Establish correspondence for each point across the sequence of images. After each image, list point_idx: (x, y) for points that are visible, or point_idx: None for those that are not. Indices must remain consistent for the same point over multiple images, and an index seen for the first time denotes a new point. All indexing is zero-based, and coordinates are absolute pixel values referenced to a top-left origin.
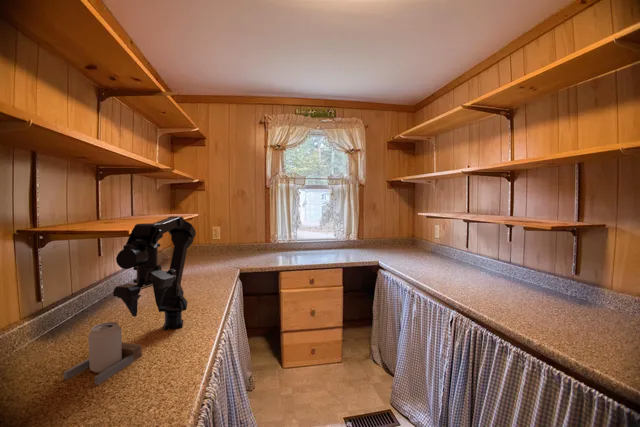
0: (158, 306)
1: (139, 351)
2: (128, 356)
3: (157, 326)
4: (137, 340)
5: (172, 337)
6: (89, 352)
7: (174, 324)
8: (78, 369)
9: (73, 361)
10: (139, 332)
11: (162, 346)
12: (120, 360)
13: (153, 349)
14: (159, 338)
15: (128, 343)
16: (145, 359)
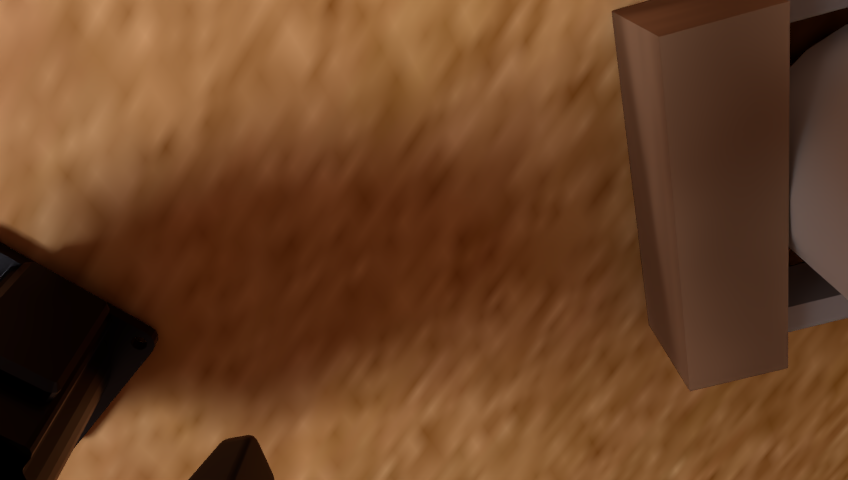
0: (263, 455)
1: (668, 15)
2: (798, 8)
3: (149, 448)
4: (417, 345)
5: (176, 110)
6: None
7: (35, 292)
8: None
9: (831, 410)
10: (316, 461)
11: (368, 11)
12: (840, 40)
13: (460, 40)
14: (278, 213)
15: (677, 212)
16: None
